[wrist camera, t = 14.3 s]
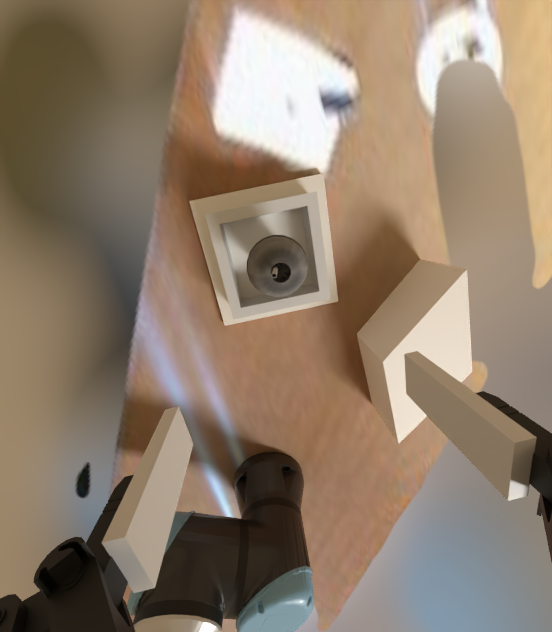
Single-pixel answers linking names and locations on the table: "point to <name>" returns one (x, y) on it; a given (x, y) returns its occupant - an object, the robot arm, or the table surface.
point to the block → (416, 339)
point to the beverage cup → (277, 266)
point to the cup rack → (252, 226)
